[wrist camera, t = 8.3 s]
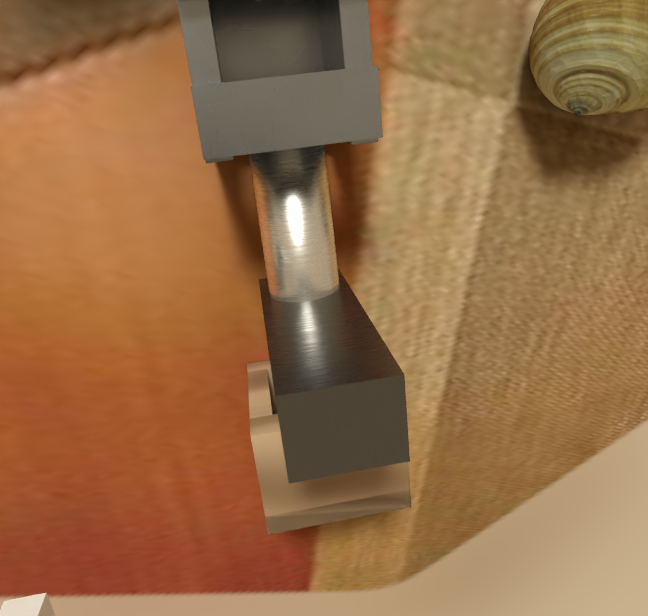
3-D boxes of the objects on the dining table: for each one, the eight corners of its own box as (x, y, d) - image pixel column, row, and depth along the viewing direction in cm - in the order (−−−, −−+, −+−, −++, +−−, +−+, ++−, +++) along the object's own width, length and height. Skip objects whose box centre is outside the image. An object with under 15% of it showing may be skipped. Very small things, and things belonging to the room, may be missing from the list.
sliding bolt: (234, 123, 26) (234, 141, 14) (321, 113, 26) (388, 122, 15) (281, 419, 31) (306, 598, 20) (352, 407, 31) (417, 575, 20)
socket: (247, 363, 30) (250, 436, 24) (368, 343, 31) (404, 409, 24) (261, 446, 32) (268, 534, 25) (375, 425, 33) (411, 507, 26)
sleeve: (172, -79, 23) (149, -147, 17) (327, -92, 24) (362, -163, 17) (212, 150, 26) (204, 165, 20) (347, 133, 27) (383, 143, 20)
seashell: (590, -35, 30) (598, -166, 23) (742, -13, 27) (807, -156, 20) (513, 139, 30) (496, 66, 23) (653, 178, 28) (685, 108, 20)
